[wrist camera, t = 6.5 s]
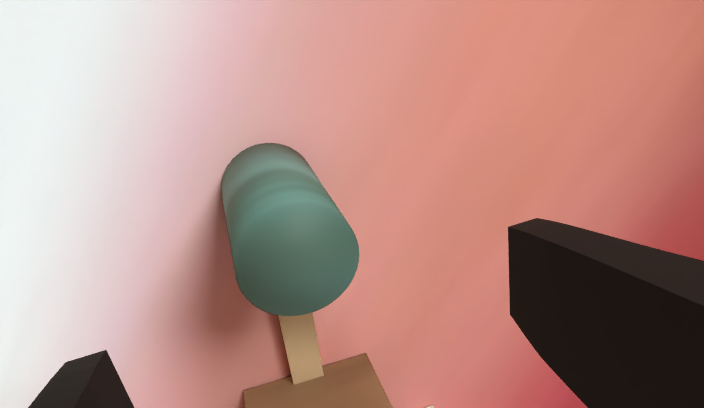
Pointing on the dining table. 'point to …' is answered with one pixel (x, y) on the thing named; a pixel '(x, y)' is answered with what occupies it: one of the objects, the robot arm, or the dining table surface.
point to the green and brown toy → (294, 273)
